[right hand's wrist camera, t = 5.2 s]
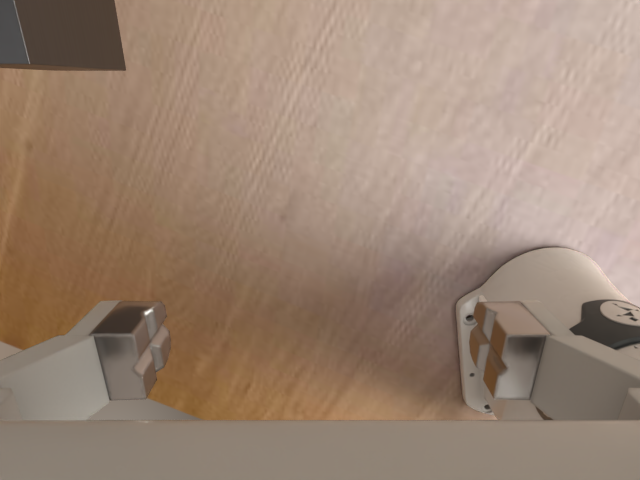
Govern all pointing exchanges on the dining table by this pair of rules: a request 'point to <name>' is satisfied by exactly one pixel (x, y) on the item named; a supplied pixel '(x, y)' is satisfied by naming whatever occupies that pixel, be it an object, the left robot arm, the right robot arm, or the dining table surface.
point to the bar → (60, 35)
